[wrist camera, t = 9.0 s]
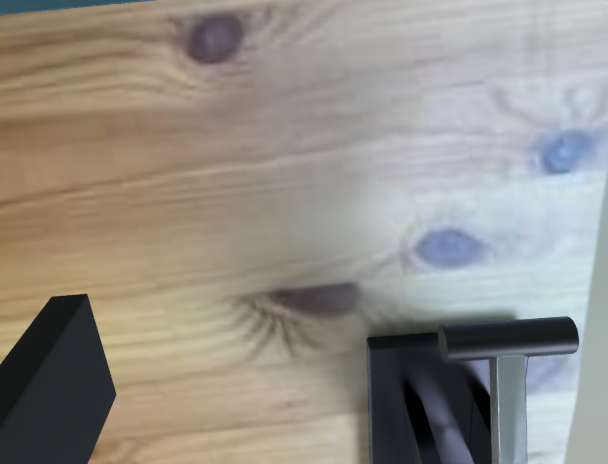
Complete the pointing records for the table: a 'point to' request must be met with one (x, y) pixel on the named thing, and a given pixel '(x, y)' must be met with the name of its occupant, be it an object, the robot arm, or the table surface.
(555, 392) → the table surface
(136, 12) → the table surface
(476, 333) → the lever
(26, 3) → the button box
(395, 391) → the bracket
